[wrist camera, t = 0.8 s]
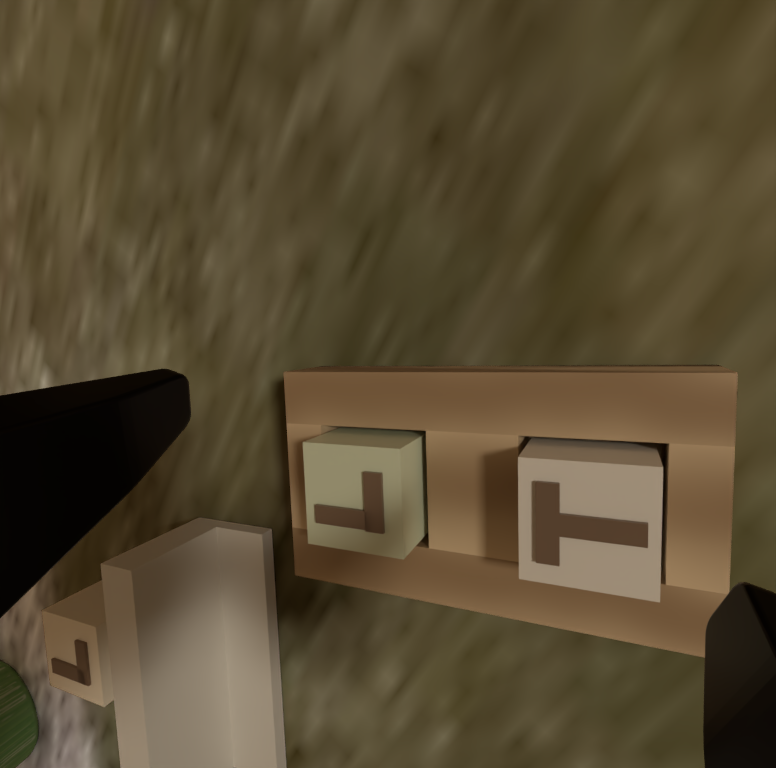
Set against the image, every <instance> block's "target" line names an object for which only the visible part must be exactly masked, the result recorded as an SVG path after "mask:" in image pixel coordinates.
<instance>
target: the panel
mask: <svg viewBox="0 0 776 768" xmlns="http://www.w3.org/2000/svg"><path fill="white" fill-rule="evenodd" d="M737 380H738V373H737V372H734V371H732V370H729V369H727V368H724V367H722V366H719V365H582V366H321V367H314V368H307V369H300V370H294V371H287V372H284V388H285V405H286V423H287V441H288V458H289V476H290V493H291V511H292V528H293V546H294V564H295V575H296V576H301V577H306V578H311V579H316V580H321V581H326V582H331V583H336V584H341V585H346V586H351V587H356V588H361V589H366V590H371V591H376V592H381V593H386V594H391V595H396V596H401V597H406V598H411V599H416V600H421V601H426V602H431V603H436V604H441V605H446V606H451V607H456V608H461V609H466V610H471V611H476V612H481V613H486V614H491V615H496V616H501V617H505V618H510V619H515V620H520V621H525V622H530V623H535V624H540V625H545V626H550V627H555V628H560V629H565V630H570V631H575V632H580V633H585V634H590V635H595V636H600V637H605V638H610V639H615V640H620V641H625V642H630V643H635V644H640V645H645V646H650V647H655V648H660V649H665V650H670V651H675V652H680V653H685V654H690V655H695V656H700V657H705V632H706V627H707V623H708V621H709V619H710V617H711V615H712V614H713V613H714V611H715V610H716V609H717V608H718V606H719V605H720V604H721V602H722V601H723V600H724V599H725V597H726V596H727V595H728V593H729V586H730V560H731V534H732V509H733V483H734V457H735V432H736V406H737ZM341 427H348V428H367V429H386V430H404V431H423V432H426V459H427V495H428V533H427V534H426V535H425V536H424V537H423V538H422V540H421V541H420V542H419V543H418V544H417V545H416V546H415V547H414V549H413V550H412V551H411V552H410V553H409V554H408V555H407V556H406V558H405V559H404V560H403V559H397V558H391V557H385V556H379V555H373V554H367V553H361V552H355V551H349V550H343V549H337V548H332V547H326V546H320V545H314V544H308V533H307V514H306V495H305V477H304V458H303V442H304V441H307V440H309V439H312V438H315V437H317V436H320V435H322V434H325V433H328V432H330V431H333V430H335V429H338V428H341ZM532 437H535V438H554V439H573V440H592V441H610V442H629V443H648V444H655V445H656V448H657V451H658V453H659V456H660V459H661V462H662V465H663V500H662V543H661V585H660V602H654V601H648V600H642V599H636V598H630V597H624V596H618V595H612V594H606V593H600V592H594V591H588V590H582V589H576V588H570V587H564V586H558V585H552V584H546V583H540V582H534V581H528V580H522V579H519V531H518V456H519V455H520V454H521V452H522V451H523V449H524V448H525V447H526V445H527V444H528V442H529V441H530V440H531V438H532Z"/></svg>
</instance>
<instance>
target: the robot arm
mask: <svg viewBox="0 0 776 768" xmlns="http://www.w3.org/2000/svg"><path fill="white" fill-rule="evenodd" d="M190 417H191V405H190V392H189V382H188V380H187V378H186V377H185V376H184V375H182V374H180V373H177V372H174V371H172V370H169V369H158V370H152V371H146V372H140V373H134V374H128V375H122V376H116V377H110V378H104V379H98V380H92V381H86V382H80V383H73V384H67V385H61V386H55V387H49V388H43V389H37V390H31V391H25V392H19V393H13V394H7V395H1V396H0V618H1V617H2V616H3V615H4V614H5V613H6V612H7V611H8V610H9V609H10V608H11V607H12V606H13V605H14V604H15V603H16V602H17V601H18V600H19V599H20V598H21V597H23V596H24V595H25V594H26V593H27V592H28V591H29V590H30V589H31V588H32V587H33V586H34V585H35V584H36V583H37V582H38V581H39V580H40V579H41V578H42V577H43V576H44V575H45V574H46V573H47V572H48V571H49V570H50V569H51V568H52V567H53V566H54V565H55V564H56V563H58V562H59V561H60V560H61V559H62V558H63V557H64V556H65V555H66V554H67V553H68V552H69V551H70V550H71V549H72V548H73V547H74V546H75V545H76V544H77V543H78V542H79V541H80V540H81V539H82V538H83V537H84V536H85V535H86V534H87V533H88V532H89V531H90V530H91V529H92V528H94V527H95V526H96V525H97V524H98V523H99V522H100V521H101V520H102V519H103V518H104V517H105V516H106V515H107V514H108V513H109V512H110V511H111V510H112V509H113V508H114V507H115V506H116V505H117V504H118V503H119V502H120V501H121V500H122V499H123V498H124V497H125V496H126V495H127V494H128V493H129V492H130V491H131V490H132V489H133V488H134V487H135V486H136V485H137V484H138V482H139V481H140V480H141V479H142V478H143V477H144V476H145V474H146V473H147V472H148V471H149V470H150V469H151V467H152V466H153V465H154V464H155V463H156V462H157V460H158V459H159V458H160V457H161V456H162V454H163V453H164V452H165V451H166V450H167V449H168V447H169V446H170V445H171V444H172V443H173V441H174V440H175V439H176V438H177V437H178V436H179V434H180V433H181V432H182V431H183V430H184V429H185V427H186V426H187V424H188V422H189V420H190ZM703 734H704V759H705V768H776V594H775V593H774V592H771V591H769V590H766V589H763V588H761V587H758V586H755V585H752V584H750V583H746V582H741V583H738V584H736V585H735V586H734V587H733V588H732V590H731V591H730V592H729V593H728V595H727V596H726V597H725V599H724V600H723V601H722V602H721V604H720V605H719V606H718V608H717V609H716V610H715V611H714V613H713V614H712V615H711V617H710V619H709V621H708V623H707V627H706V632H705V674H704V724H703Z"/></svg>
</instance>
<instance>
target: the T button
mask: <svg viewBox="0 0 776 768" xmlns="http://www.w3.org/2000/svg"><path fill="white" fill-rule="evenodd" d="M662 500H663V465H662V462H661V459H660V456H659V453H658V451H657V448H656V445H655V444H648V443H629V442H610V441H592V440H573V439H554V438H535V437H532V438H531V440H530V441H529V442H528V444H527V445H526V447H525V448H524V449H523V451H522V452H521V454H520V455H519V456H518V531H519V579H522V580H528V581H534V582H540V583H546V584H552V585H558V586H564V587H570V588H576V589H582V590H588V591H594V592H600V593H606V594H612V595H618V596H624V597H630V598H636V599H642V600H648V601H654V602H660V585H661V543H662Z"/></svg>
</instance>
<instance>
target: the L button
mask: <svg viewBox="0 0 776 768" xmlns="http://www.w3.org/2000/svg"><path fill="white" fill-rule="evenodd" d="M303 458H304V477H305V495H306V514H307V533H308V544H314V545H320V546H326V547H332V548H337V549H343V550H349V551H355V552H361V553H367V554H373V555H379V556H385V557H391V558H397V559H403V560H404V559H405V558H406V556H407V555H408V554H409V553H410V552H411V551H412V550H413V549H414V547H415V546H416V545H417V544H418V543H419V542H420V541H421V540H422V538H423V537H424V536H425V535H426V534H427V533H428V495H427V459H426V432H423V431H404V430H386V429H367V428H348V427H341V428H338V429H335V430H333V431H330V432H328V433H325V434H322V435H320V436H317V437H315V438H312V439H309V440H307V441H304V442H303Z"/></svg>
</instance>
